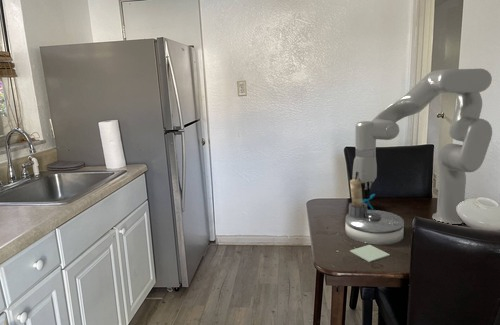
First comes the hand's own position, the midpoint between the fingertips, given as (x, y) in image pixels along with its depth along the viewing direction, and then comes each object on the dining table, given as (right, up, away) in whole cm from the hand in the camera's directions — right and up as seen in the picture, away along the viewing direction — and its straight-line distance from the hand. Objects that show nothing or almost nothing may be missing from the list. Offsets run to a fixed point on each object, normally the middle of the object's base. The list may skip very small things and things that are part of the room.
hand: (365, 198), depth 139 cm
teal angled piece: (+8, -8, +23) cm, 25 cm away
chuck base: (+1, -13, -5) cm, 14 cm away
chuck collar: (+1, -9, -6) cm, 11 cm away
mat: (-6, -16, -22) cm, 28 cm away
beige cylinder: (-3, -6, -1) cm, 7 cm away
